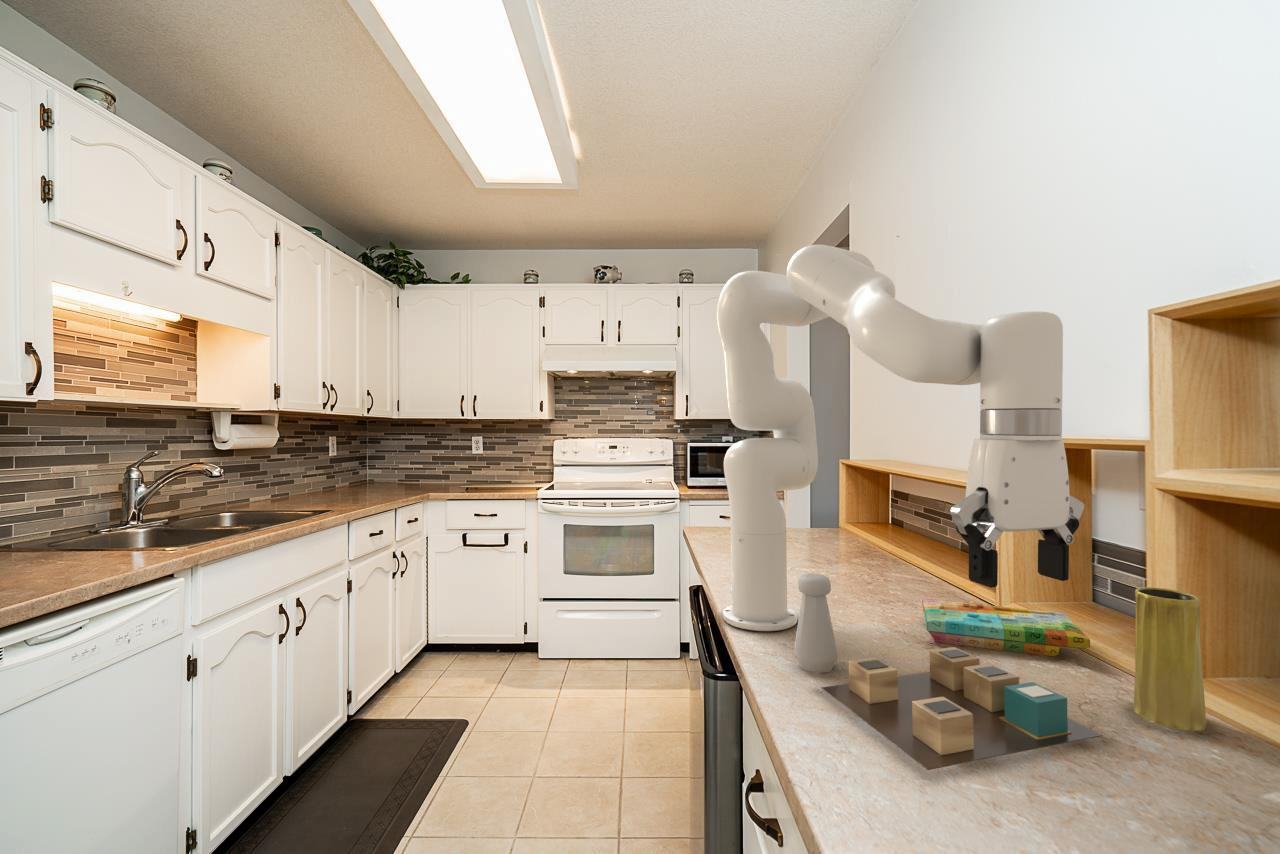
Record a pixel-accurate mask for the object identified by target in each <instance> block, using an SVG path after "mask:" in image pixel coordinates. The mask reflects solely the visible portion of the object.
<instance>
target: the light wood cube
mask: <svg viewBox="0 0 1280 854" xmlns="http://www.w3.org/2000/svg"><path fill="white" fill-rule="evenodd" d="M898 676H899V670H898V669H897V668H895V667H894V666H891V665H890V664H888V663H887V662H885V661H883V660H881V659H880V658H879V657H877V656H875V657H869V658H867V657H866V658H860V659H852V660H848V684H849V689H850V690H851V691H852V692H854V693H855V694H856V695H858V696H859V697H861V698H862V699H863V700H865V701H866V702H868V703H869V704H873V703H880V702H886V701H892V700H898Z"/></svg>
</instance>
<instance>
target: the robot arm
mask: <svg viewBox="0 0 1280 854" xmlns="http://www.w3.org/2000/svg"><path fill="white" fill-rule="evenodd" d="M827 318H831V319H833V320H834V321H836V322H837V323H838V324H840V325H842V326H843V327H845V328H846V329H847V333H848V335H849V337H850V338H851V340H852V343H853V344H854V346H856V348H858V349H859V351H860V352H862V353H863V354H864V355H866V356H867V357H868V358H870V359H871V360H873V361H874V362H876V363H877V364H879V365H880V366H882V367H884V368H885V369H886V370H887V371H889V372H890V373H892V374H894V375H896V376H897V377H900V378H902V379H904V380H907V381H910V382H913V383H918V384H919V383H920V384H921V383H922V384H938V385H940V384H941V385H951V386H952V385H954V386H969V385H976V384H979V385H980V386H979V387H980V388H979V393H980V395H979V403H980V404H979V409H980V410H979V438H975V439H974V441H973V443H972V448H971V451H970V456H969V460H968V467H967V475H966V485H965V496H964V497H965V498H963V499H962V500H960V501H959V502H957V503H956V504H955V505H953V506H952V507H951V508H950V510H949V514H950V515H951V518H952V520H953V523H954V525H955V526H956V527H955V530H956V532H957V533H958V534H959V535H960V537H961V538H962V539H963V544H964V545H966V546H967V547H968V580H969V581H970V582H973V583H976V584H979V585H981V586H984V587H988V588H991V589H992V588H997V586H998V580H999V579H998V577H999V575H998V573H999V553H998V550H996V549H993V547H994V546H995V545H996V543H997V541H998V540H999V538H1000V537H1001V535H1002V534H1003V533H1004V532H1007V533H1008V532H1009V533H1010V532H1027V531H1029V532H1030V531H1038V532H1039V534H1040V535H1041V537H1042V538H1043V539H1038V540H1037V573H1038V574H1039V575H1040V576H1044V577H1047V578H1051V579H1054V580H1057V581H1061V582H1065V581H1066V582H1067V581H1069V577H1070V575H1069V574H1070V571H1069V570H1070V545H1072V544H1073V543H1074V541H1075V540H1074V539H1075V538H1074V534H1075V533H1076V532H1077V530H1078V529H1079V527H1080V520H1081V517H1082V515H1083V513H1084V510H1085V504H1084V503H1083V501H1080V500H1079V499H1078V498H1076V497H1075V496H1073V495H1071V494H1070V480H1069V468H1068V460H1067V459H1068V458H1067V453H1066V448H1065V443H1064V439H1063V410H1062V409H1063V374H1064V373H1063V369H1064V368H1063V367H1064V366H1063V364H1064V363H1063V362H1064V359H1063V358H1064V357H1063V356H1064V355H1063V354H1064V353H1063V352H1064V329H1063V328H1064V326H1063V322H1062V320H1061V317H1060V316H1058V315H1057V314H1055V313H1053V312H1049V311H1035V310H1034V311H1019V312H1011V313H1005V314H999V315H995V316H992V317H990V318H989V319H987V320H986V321H985V322H984V323H983V324H974V323H967V322H966V323H965V322H960V321H954V320H947V319H941V318H940V319H939V318H933V317H931V316H927V315H925V314H923V313H921V312H920V311H917V310H915V309H914V308H912V307H910V306H908V305H906V304H904V303H903V302H901V301H899V300H898V299H896V287H895V284H894V281H893V279H892V278H890V277H889V276H888V275H885V274H884V273H882V272H880V271H878V270H877V269H876V268H875V265H874V264H873V262H872V261H871V260H870V259H869V258H868V256H866V255H864V254H863V253H860V252H857V251H854V250H849V249H845V248H841V247H838V246H837V247H836V246H831V245H827V244H811V245H807V246H804V247H802V248H801V249H799V250H798V251H796V253H794V254H793V255H792V257H791V258H790V260H789V262H788V263H787V267H786V275H785V274H781V273H776V272H770V271H764V270H763V271H762V270H747V271H742V272H738V273H737V274H734V275H733V276H732V277H730V278H729V279H728V280H727V281H726V283H725V285H724V286H723V288H722V289H721V292H720V294H719V298H718V302H717V308H716V322H717V329H718V334H719V337H720V341H721V346H722V351H723V356H724V371H725V372H724V373H725V383H726V397H727V407H728V414H729V419H730V421H731V423H732V424H733V425H734V426H735V427H736V428H738V429H740V430H743V431H772V433H773V437H754V438H745V439H742V440H739V441H736V442H735V443H733V444H732V445H731V446H730V447H729V448H728V449H727V450H726V453H725V455H724V457H723V474H724V479H725V483H726V488H727V493H728V502H729V503H728V504H729V519H730V521H729V523H730V525H729V526H730V572H731V573H730V577H731V578H730V579H731V581H730V583H731V585H730V587H731V589H730V593H729V594H731V604H730V605H728V606H726V607H725V608H724V609H723V610H722V618H723V620H724V621H725V622H726V623H727V624H728V625H731V626H733V627H735V628H739V629H742V630H747V631H754V632H755V631H756V632H776V631H785V630H787V629H790V628H793V627H794V626H795V625H796V624H797V623H798V615H797V613H796V612H795V611H794V610H793V609H791V608H789V607H788V555H787V553H788V551H787V519H786V513H785V510H784V508H783V505H782V504H781V501H780V500H779V497H778V495H777V492H784V491H786V492H787V491H796V490H801V489H804V488H807V487H808V486H809V485H811V484H812V482H813V481H814V480H815V478H816V476H817V472H818V469H819V468H818V467H819V451H818V440H817V429H816V416H815V408H814V403H813V398H812V396H811V394H810V392H809V391H808V389H807V387H805V385H804V384H802V383H801V382H799V381H797V380H795V379H792V378H783V377H781V378H780V377H777V375H776V372H775V371H776V370H775V365H774V364H775V363H774V353H773V349H772V345H771V343H770V341H769V340H768V337H767V336H766V334H765V333H764V332H763V330H762V329H761V324H770V325H775V326H776V325H777V326H787V327H803V326H808V325H811V324H814V323H816V322H819V321H822V320H826V319H827ZM985 530H987V531H986V532H985V534H983V533H984V531H985Z"/></svg>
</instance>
